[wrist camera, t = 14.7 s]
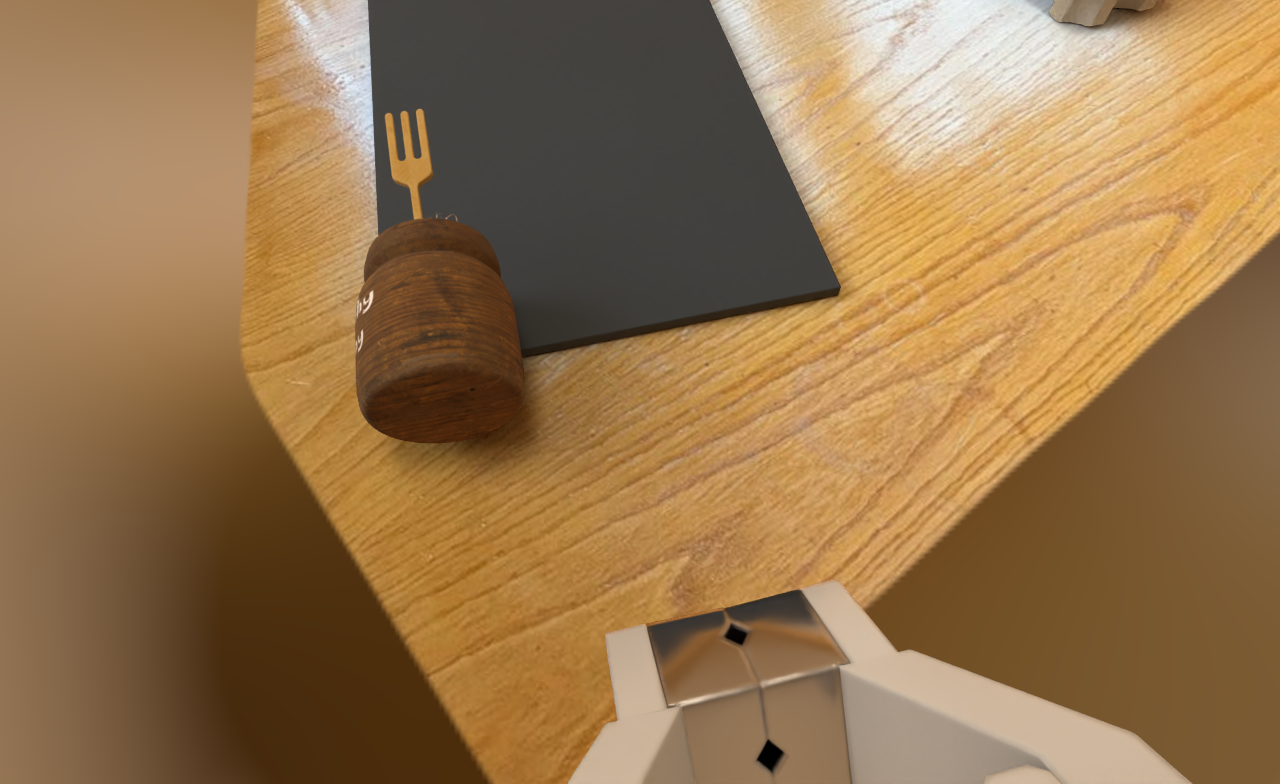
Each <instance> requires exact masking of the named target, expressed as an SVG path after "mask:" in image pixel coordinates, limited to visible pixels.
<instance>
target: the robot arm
mask: <svg viewBox="0 0 1280 784" xmlns="http://www.w3.org/2000/svg"><path fill="white" fill-rule="evenodd" d="M605 642H606V648H607V655H608V661H609V668H610V674H611V681H612V687H613V694H614V701H615V707H616V714H617V720H618V721H615V722H611V723H607V724H605V725H604V727H603V729H602V730H601V732H600V733H599V735H598V736H597V738H596V739H595V741H594V743H593V744H592V746H591V747H590V749H589V750H588V752H587V753H586V755H585V756H584V758H583V760H582V761H581V763H580V764H579V766H578V767H577V769H576V770H575V772H574V773H573V775H572V777H571V778H570V780H569V781H568V783H567V784H1192V783H1190V781H1188V780H1187V779H1186V778H1185V777H1184V776H1183V775H1182V774H1180V773H1179V772H1178V771H1177V770H1176V769H1175V768H1174V767H1172V766H1171V765H1170V764H1169V763H1168V762H1167V761H1166V760H1165V759H1163V758H1162V757H1161V756H1160V755H1159V754H1158V753H1157V752H1155V751H1154V750H1153V749H1152V748H1151V747H1150V746H1149V745H1147V744H1146V743H1145V742H1144V741H1143V740H1142V739H1141V738H1139V737H1138V736H1137V735H1136V734H1135V733H1132V732H1130V731H1127V730H1124V729H1122V728H1119V727H1116V726H1114V725H1111V724H1108V723H1106V722H1103V721H1100V720H1097V719H1095V718H1092V717H1090V716H1087V715H1084V714H1082V713H1079V712H1076V711H1073V710H1071V709H1068V708H1065V707H1063V706H1060V705H1057V704H1055V703H1052V702H1049V701H1047V700H1044V699H1041V698H1039V697H1036V696H1033V695H1030V694H1028V693H1025V692H1022V691H1020V690H1017V689H1015V688H1012V687H1009V686H1006V685H1004V684H1001V683H999V682H996V681H993V680H990V679H988V678H985V677H982V676H980V675H977V674H974V673H972V672H969V671H966V670H964V669H961V668H958V667H956V666H953V665H950V664H948V663H945V662H942V661H939V660H937V659H934V658H932V657H929V656H926V655H924V654H921V653H918V652H916V651H913V650H906V651H902V652H898V651H897V650H896V649H895V648H894V647H893V645H892V644H891V643H890V641H889V640H888V639H887V638H886V637H885V635H884V634H883V633H882V632H881V631H880V629H879V628H878V627H877V626H876V624H875V623H874V622H873V621H872V620H871V618H870V617H869V616H868V615H867V614H866V612H865V611H864V610H863V609H862V608H861V606H860V605H859V604H858V603H857V602H856V600H855V599H854V598H853V597H852V595H851V594H850V593H849V592H848V591H847V589H846V588H845V587H844V586H843V585H842V583H841V582H840V581H837V580H834V579H832V580H829V581H825V582H821V583H818V584H814V585H810V586H807V587H803V588H799V589H797V590H794V591H790V592H786V593H782V594H778V595H774V596H770V597H766V598H762V599H759V600H755V601H751V602H747V603H743V604H739V605H735V606H731V607H727V608H718V609H713V610H708V611H703V612H699V613H694V614H689V615H684V616H680V617H675V618H670V619H665V620H661V621H656V622H651V623H646V626H645V625H644V624H641V625H636V626H632V627H628V628H624V629H620V630H616V631H612V632H607V633H606V636H605Z"/></svg>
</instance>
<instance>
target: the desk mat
mask: <svg viewBox="0 0 1280 784" xmlns="http://www.w3.org/2000/svg"><path fill="white" fill-rule="evenodd" d="M368 11H369V33H370V56H371V78H372V101H373V123H374V146H375V168H376V191H377V213H378V236H379V235H380V234H381V233H382V232H384V231H385V230H387V229H388V228H390V227H392V226H394V225H397V224H399V223H402V222H405V221H409V220H414V215H413V207H412V200H411V192H410V189H409V188H407V187H404V186H402V185H399V184H396V183H395V181H394V180H393V178H392V172H391V164H390V155H389V147H388V139H387V130H386V122H385V115H386V114H387V113H391V114H392V115H393V120H394V127H395V134H396V141H397V149H398V156H399V161H404V160H405V159H406V154H405V146H404V138H403V131H402V123H401V115H400V114H401V112H402V111H406V112H408V114H409V121H410V128H411V135H412V142H413V148H414V155H415V158H416V159H419V158H421V156H422V153H421V146H420V139H419V131H418V124H417V116H416V111H417V110H418V109H422V110H423V111H424V115H425V122H426V129H427V135H428V142H429V149H430V156H431V162H432V169H433V177H432V179H430V180H429V181H428V182H426V183H425V184H424V185H422V186H421V187H420V190H419V191H420V199H421V206H422V213H423V218H436V214H437V212H439V213H440V215H441V217H442V219H446V218H447V217H448V216H449V215H451V214H454V215H456V217H457V221H458V222H459V223H462V224H465V225H467V226H469V227H471V228H473V229H475V230H477V231H478V232H479V233H481V234H482V235H483V236H484V237H485V238H486V239H487V240H488V241H489V243H490V244H491V246H492V247H493V249H494V252H495V254H496V257H497V259H498V262H499V265H500V270H501V279H502V280H503V282H504V283H505V285H506V287H507V289H508V291H509V294H510V296H511V299H512V302H513V306H514V311H515V316H516V322H517V328H518V335H519V342H520V349H521V356H522V357H525V356H530V355H535V354H540V353H546V352H551V351H556V350H561V349H566V348H571V347H576V346H581V345H586V344H591V343H596V342H601V341H606V340H612V339H617V338H622V337H627V336H632V335H637V334H642V333H647V332H652V331H657V330H662V329H667V328H672V327H677V326H683V325H688V324H693V323H698V322H703V321H708V320H713V319H718V318H723V317H728V316H733V315H738V314H743V313H749V312H754V311H759V310H764V309H769V308H774V307H779V306H784V305H789V304H794V303H799V302H804V301H809V300H815V299H820V298H825V297H830V296H835V295H838V294H839V291H840V288H841V286H840V284H839V282H838V279H837V277H836V275H835V273H834V271H833V269H832V266H831V264H830V262H829V260H828V258H827V256H826V253H825V251H824V249H823V247H822V245H821V242H820V240H819V238H818V236H817V234H816V232H815V229H814V227H813V225H812V223H811V221H810V219H809V216H808V214H807V212H806V210H805V208H804V205H803V203H802V201H801V199H800V197H799V195H798V192H797V190H796V188H795V186H794V184H793V182H792V179H791V177H790V175H789V173H788V171H787V168H786V166H785V164H784V162H783V160H782V158H781V155H780V153H779V151H778V149H777V147H776V145H775V142H774V140H773V138H772V136H771V134H770V131H769V129H768V127H767V125H766V123H765V121H764V118H763V116H762V114H761V112H760V110H759V107H758V105H757V103H756V101H755V99H754V97H753V94H752V92H751V90H750V88H749V86H748V84H747V81H746V79H745V77H744V75H743V73H742V70H741V68H740V66H739V64H738V62H737V60H736V57H735V55H734V53H733V51H732V49H731V47H730V44H729V42H728V40H727V38H726V36H725V33H724V31H723V29H722V27H721V25H720V23H719V20H718V18H717V16H716V14H715V12H714V10H713V7H712V5H711V3H710V1H709V0H368ZM439 213H438V214H437V218H439V219H441V217H440V215H439ZM454 215H451V216H449V217H448V218H447V220H452V221H456V217H455V216H454ZM457 221H456V222H457Z"/></svg>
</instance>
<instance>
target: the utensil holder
mask: <svg viewBox="0 0 1280 784" xmlns="http://www.w3.org/2000/svg"><path fill="white" fill-rule="evenodd" d="M400 115H401V123H402V131H403V138H404V146H405V154H406V159H405V160H404V161H399V156H398V149H397V141H396V134H395V127H394V120H393V115H392V114H391V113H387V114H386V115H385V122H386V130H387V139H388V147H389V155H390V164H391V172H392V178H393V180H394V181H395V183H396V184H399V185H402V186H404V187H407V188H409V189H410V192H411V200H412V207H413V215H414V220H409V221H405V222H402V223H399V224H397V225H394V226H392V227H390V228H388V229H387V230H385V231H384V232H382V233H381V234H380V235H379V236H378V237H377V238H376V239H375V240H374V241H373V243H372V244H371V246H370V248H369V251H368V254H367V258H366V262H365V267H364V281H365V284H364V285H363V287H362V289H361V292H360V294H359V298H358V302H357V308H356V322H355V347H356V385H357V396H358V401H359V406H360V409H361V412H362V414H363V416H364V418H365V419H366V420H367V422H368V423H369V424H370V425H371V426H372V427H374V428H375V429H376V430H378V431H380V432H381V433H383V434H385V435H388V436H390V437H393V438H396V439H400V440H404V441H410V442H417V443H448V442H456V441H462V440H467V439H471V438H475V437H478V436H482V435H484V434H487V433H489V432H492V431H494V430H496V429H498V428H500V427H501V426H503V425H504V424H506V423H507V422H508V421H510V420H511V419H512V418H513V417H514V416H515V415H516V413H517V412H518V410H519V409H520V407H521V405H522V402H523V398H524V372H523V363H522V356H521V349H520V342H519V335H518V328H517V322H516V316H515V311H514V306H513V302H512V299H511V296H510V294H509V291H508V289H507V287H506V285H505V283H504V282H503V280H502V279H501V270H500V265H499V262H498V259H497V257H496V254H495V252H494V249H493V247H492V246H491V244H490V243H489V241H488V240H487V239H486V238H485V237H484V236H483V235H482V234H481V233H479V232H478V231H477V230H475V229H473V228H471V227H469V226H467V225H465V224H462V223H459V222H458V221H457V217H456V215H454V214H451V215H454V216H455V217H456V221H457V222H456V221H452V220H447V218H448V217H449V216H451V215H449V216H448V217H447V218H446V219H442V217H441V215H440V213H439V212H437V214H438V213H439V215H440V217H441V219H439V218H437V214H436V218H423V213H422V206H421V199H420V191H419V190H420V187H421V186H422V185H424V184H425V183H426V182H428V181H429V180H430V179H432V177H433V169H432V162H431V156H430V149H429V142H428V135H427V129H426V122H425V115H424V111H423V110H422V109H418V110H417V111H416V116H417V124H418V131H419V139H420V146H421V153H422V156H421V158H419V159H416V158H415V155H414V148H413V142H412V135H411V128H410V121H409V114H408V112H406V111H402V112H401V114H400Z"/></svg>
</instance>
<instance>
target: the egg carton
mask: <svg viewBox="0 0 1280 784" xmlns="http://www.w3.org/2000/svg"><path fill="white" fill-rule="evenodd" d="M1156 2H1157V0H1054V4H1053V5H1052V7H1051V9H1050V11H1049V14H1050V15H1051V16H1052V17H1053V18H1054V19H1055V20H1056V21H1059V22H1073V23H1077V24H1082V25H1084V26H1095V25H1099V24H1104V23H1105V21H1106V19H1107V17H1108V16H1109V14H1110V12H1111V10H1112V8H1113V7H1116V8H1130V9H1135V10H1138V11H1143V10H1146V9H1151V8H1152V7H1154V5H1155V3H1156Z"/></svg>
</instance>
